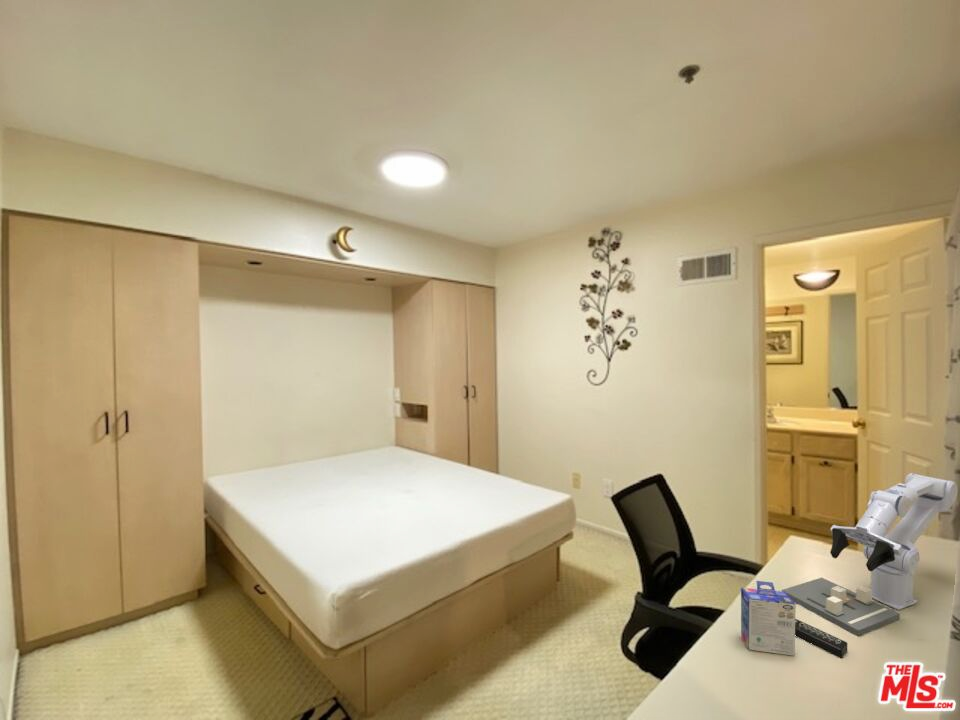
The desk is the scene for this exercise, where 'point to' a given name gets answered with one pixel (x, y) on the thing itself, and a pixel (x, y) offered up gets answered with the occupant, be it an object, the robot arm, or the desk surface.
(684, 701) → the desk surface
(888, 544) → the robot arm
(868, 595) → the breaker handle
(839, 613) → the block
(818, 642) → the multiport hub
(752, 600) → the ink cartridge box
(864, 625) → the panel
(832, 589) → the block
